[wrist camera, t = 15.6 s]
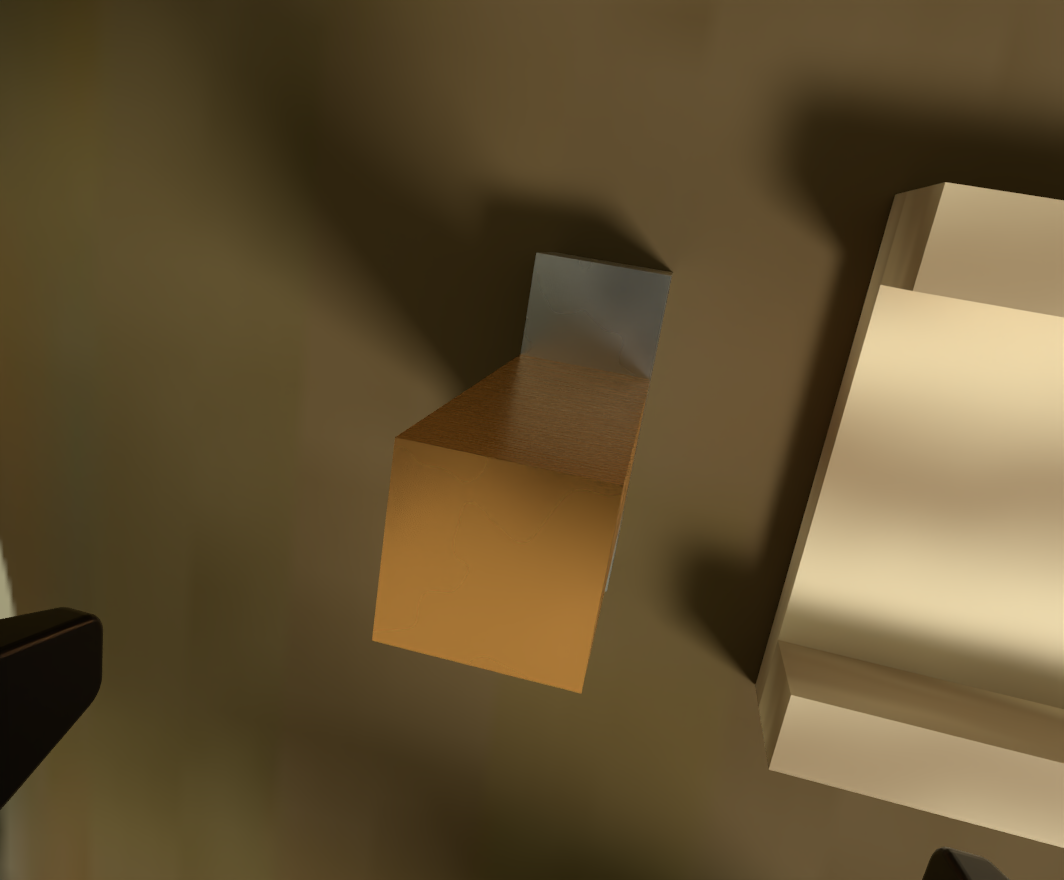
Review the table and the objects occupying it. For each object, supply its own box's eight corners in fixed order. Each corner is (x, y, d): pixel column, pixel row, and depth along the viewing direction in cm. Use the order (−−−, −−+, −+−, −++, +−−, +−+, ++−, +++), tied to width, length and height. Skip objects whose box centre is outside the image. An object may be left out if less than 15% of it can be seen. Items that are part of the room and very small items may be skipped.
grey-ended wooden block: (614, 553, 21) (552, 831, 11) (509, 529, 21) (356, 776, 11) (672, 272, 19) (661, 300, 9) (553, 252, 19) (415, 257, 9)
